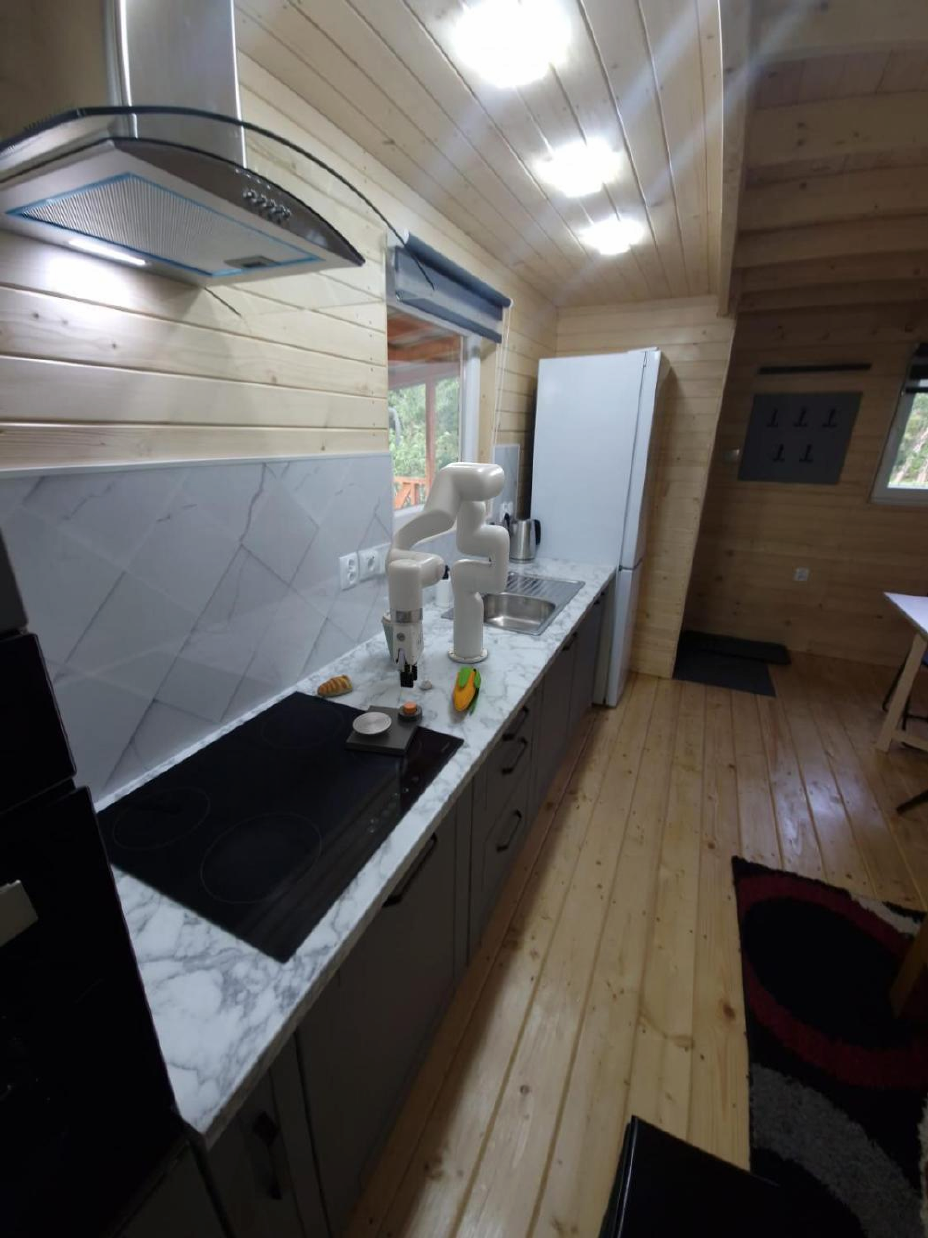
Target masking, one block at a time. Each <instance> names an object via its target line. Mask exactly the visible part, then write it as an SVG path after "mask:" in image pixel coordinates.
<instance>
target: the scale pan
mask: <svg viewBox="0 0 928 1238" xmlns="http://www.w3.org/2000/svg"><path fill="white" fill-rule="evenodd" d="M365 713H366V712H365ZM365 713H363V714H361V715H359V716H357V717H356V718H355V719H354V720H353V721H352V729H353V730H354V731H355V732H357V733H358V734H361V735H365V736H374V735H378V734H381V733H384V732H385V731H387V730H388V729H389V728H390V726H391V719H390V717H389V716H388V715H386V714H384V713H379V712H371V713H366V714H365Z"/></svg>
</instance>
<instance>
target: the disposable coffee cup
mask: <svg viewBox="0 0 928 1238" xmlns="http://www.w3.org/2000/svg"><path fill="white" fill-rule="evenodd" d="M380 623H381V624H382V627H383V631H384V636H385V640H386V644H387V645H386V646H387V648H388V649H387V650H388V654H389V656H390V658H391V659H392V660H393V661H394V656H393V625H394V623H392V622H391V621H390V609H388V610H386V611H384V612H383V613H382V617H381V621H380Z"/></svg>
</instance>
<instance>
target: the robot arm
mask: <svg viewBox="0 0 928 1238" xmlns="http://www.w3.org/2000/svg"><path fill="white" fill-rule="evenodd" d="M505 476H506V475H505V472H504V469H503V468H502V466H500V465H499V464H496V463H483V462H482V463H481V462H460V461H459V462H451V463H448V464H446V465H445V466H443V467H441V468H440V469H439V470H438V471H437V472H436V474H435V476H434V479H433V481H432V484H431V487H430V490H429V493H428V495H427V498H426V500H425V503H424V505H423V509H422V511H421V512H420V513H419V514H417V515H416V516H414V517H413V518H411V519H410V520H409V521H407V522H406V523H405V524H404V525H403V526H401V528H399V530H397V532H395V535H394V536H393V538H392V540H391V543H390V546H389V548H388V550H387V554H386V557H385V561H384V571H385V574H386V576H387V582H388V584H387V585H388V601H389V603H388V604H389V610H390V621H391V622H392V623H394V625H393V656H394V660H393V662H394V663H395V664H397V672H398V673H399V686H400V688H406V689H407V688H408V689H413V688H414V687H415V686H414V685H415V684H414V683H415V682H417V681H418V678H419V677H418V676H419V675H418V660H419V658H420V657H421V655H422V654H423V651H424V648H425V643H424V642H425V641H424V631H423V629H424V627H423V622H422V621H423V620H424V609H423V607H424V606H423V605H424V604H423V602H424V601H423V589H424V588H427V587H431V586H434V585H437V584H438V583H439V582H441V581H442V579H443V578H444V576H445V573H446V564H445V561H444V559H443V558H442V557H441V556H440V555H438V554H435V553H430V552H421V551H416V550H415V551H414V550H411V549H412V547H413V546H414V545H416V544H417V543H419V542H421V541H422V540H425V539H427V538H430V537H434V536H437V535H439V534H440V535H441V534H443V533H445V532H447V531H450V530H451V529H452V528H453V527H454V526H455V523H456V533H455V534H456V535H455V536H456V537H455V541H456V549H457V552H459V553H460V554H461V555H466V556H469V557H470V556H471V557H479V558H487V559H490V561H485V560H480V559H479V560H478V559H469V558H464V559H458V560H456V561H455V562H453V563H452V565H451V567H450V571H449V575H450V576H449V579H450V584H451V589H452V598H453V599H452V600H453V601H452V603H453V604H452V605H453V607H452V610H453V611H452V612H453V613H452V614H453V615H452V616H453V620H452V621H453V625H452V626H453V627H452V628H453V631H452V632H453V633H452V636H453V638H452V639H453V641H452V642H453V644H452V646H451V647H450V648H449V649H448V656H449V658H451V659H452V660H453V661H455V662H459V663H464V664H473V663H478V662H481V661H483V660H485V659H486V658H487V657H488V650H487V648H486V647H485V646H483V645H484V617H485V616H484V614H485V613H484V612H485V611H484V610H485V604H484V600H483V598H482V596H481V594H487V595H501V594H503V593H504V592H505V591H506V588H507V586H508V579H509V565H510V564H509V563H510V548H511V540H510V534H509V531H508V530H507V529H506V528H505V527H504V526H501V525H495V524H487V519H486V518H487V506H486V503H485V502H487V501H491V500H492V499H494V498H496V497H498V496H499V495H501V493H502V491H503V489H504V486H505V482H506V477H505ZM480 593H481V594H480Z"/></svg>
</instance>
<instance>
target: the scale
mask: <svg viewBox="0 0 928 1238" xmlns="http://www.w3.org/2000/svg"><path fill="white" fill-rule="evenodd" d="M415 704H416V712H415V713H412V714H406V713H405V712H404V704H403V705H401V706H399V707H392V706H391V707H390V706H381V705H371V704H370V705H369V707H368V708H367V709H366V711H365V713H364V714H366V713H371V712H379V713H384V714H386V715H388V716H389V717H390V719H391V726H390V728H389V729H388V730H387V731H385V732H384V733H381V734H378V735H374V736H365V735H361V734H358V733H357V732H355V731H354V729H353V730H352V731H351V733H350V735H348V738H347V739H346V741H345V748H346V749H348V750H349V749H350V750H355V751H356V750H357V751H364V752H373V753H380V754H388V755H396V756H402V757H403V756H406V753H407V751H408V749H409V747H410V745H411V743H412V740H413V739H414V736H415V735H416V732H417V730H418V728H419V726H420V724H421V722H422V720H423V718H424V717H423V716H424V715H423V708H422V706H421V705H419V704H417V703H415Z"/></svg>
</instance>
